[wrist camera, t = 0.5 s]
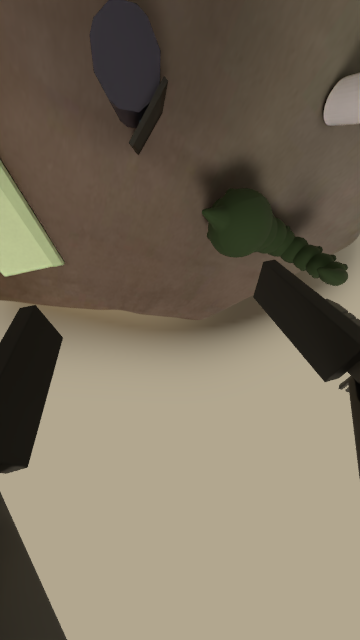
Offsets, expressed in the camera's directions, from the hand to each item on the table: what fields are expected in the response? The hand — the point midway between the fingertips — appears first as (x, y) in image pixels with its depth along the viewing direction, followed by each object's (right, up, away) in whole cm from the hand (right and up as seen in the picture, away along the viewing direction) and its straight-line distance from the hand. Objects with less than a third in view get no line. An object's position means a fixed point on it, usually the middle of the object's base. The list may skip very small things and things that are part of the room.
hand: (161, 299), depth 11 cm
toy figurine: (+13, +17, +24) cm, 33 cm away
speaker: (-5, +25, +11) cm, 28 cm away
